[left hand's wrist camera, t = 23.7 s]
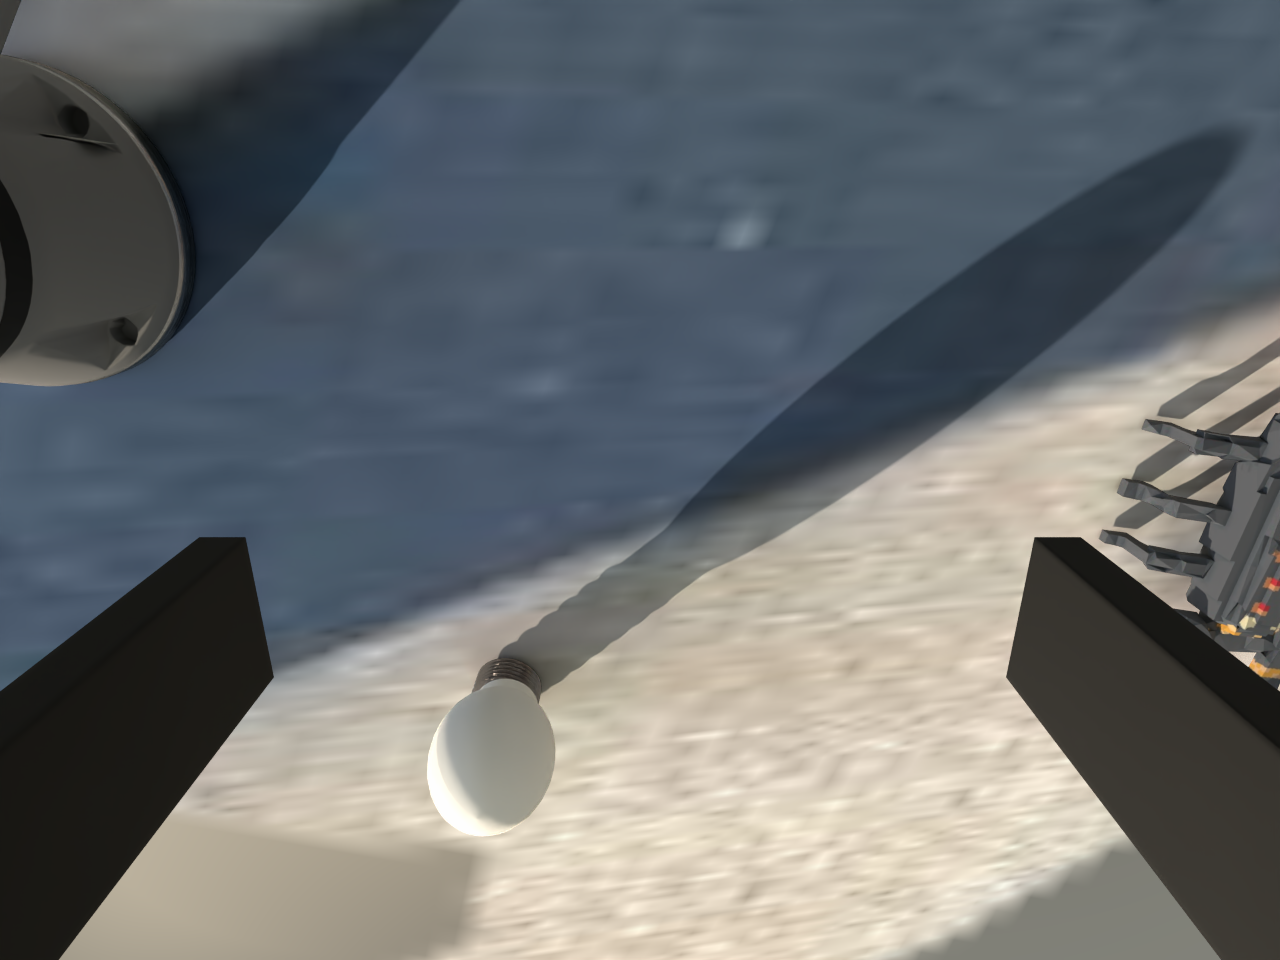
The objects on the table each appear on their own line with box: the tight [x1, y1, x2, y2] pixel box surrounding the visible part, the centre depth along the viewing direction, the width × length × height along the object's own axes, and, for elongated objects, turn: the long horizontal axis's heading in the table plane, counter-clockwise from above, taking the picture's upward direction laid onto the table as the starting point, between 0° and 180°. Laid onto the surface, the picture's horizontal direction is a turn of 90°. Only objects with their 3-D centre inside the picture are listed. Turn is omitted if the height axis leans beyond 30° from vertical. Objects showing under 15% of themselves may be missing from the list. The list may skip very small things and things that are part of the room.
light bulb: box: [427, 658, 555, 836], centre depth 42 cm, size 7×7×11 cm
